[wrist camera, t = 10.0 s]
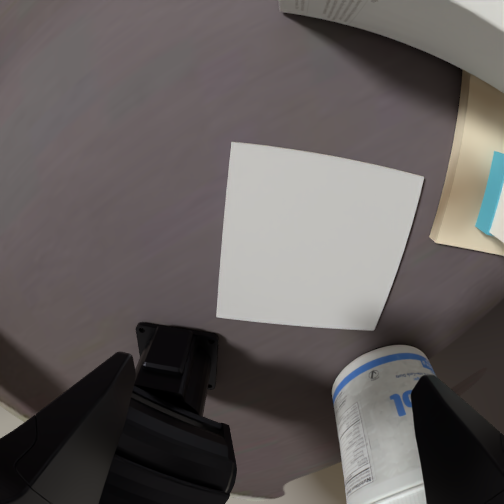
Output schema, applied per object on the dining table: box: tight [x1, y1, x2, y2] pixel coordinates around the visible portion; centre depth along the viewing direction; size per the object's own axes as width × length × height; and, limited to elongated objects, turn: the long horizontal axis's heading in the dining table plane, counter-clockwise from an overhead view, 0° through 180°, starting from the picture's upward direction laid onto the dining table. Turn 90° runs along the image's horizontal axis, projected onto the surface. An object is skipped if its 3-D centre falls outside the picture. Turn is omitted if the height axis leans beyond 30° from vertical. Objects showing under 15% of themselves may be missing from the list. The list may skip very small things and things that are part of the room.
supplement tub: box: [332, 345, 436, 504], centre depth 18 cm, size 10×10×15 cm
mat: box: [216, 142, 424, 331], centre depth 19 cm, size 12×12×1 cm
